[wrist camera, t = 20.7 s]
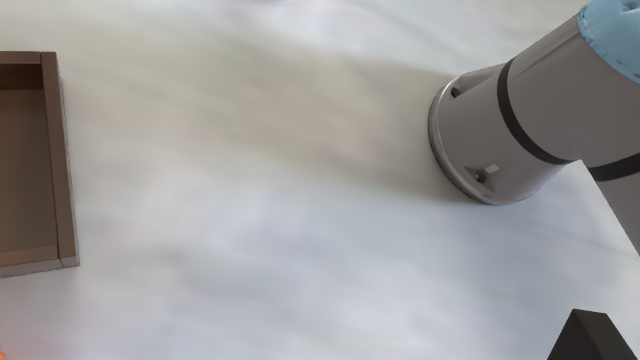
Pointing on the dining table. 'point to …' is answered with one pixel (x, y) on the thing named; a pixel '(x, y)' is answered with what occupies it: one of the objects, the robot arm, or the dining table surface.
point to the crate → (34, 167)
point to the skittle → (1, 356)
